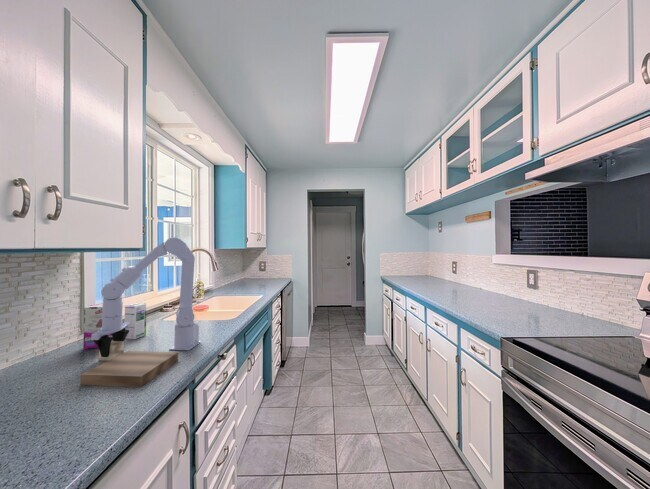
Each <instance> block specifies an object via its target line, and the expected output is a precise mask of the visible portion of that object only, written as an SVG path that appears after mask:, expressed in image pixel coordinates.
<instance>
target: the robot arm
mask: <svg viewBox="0 0 650 489" xmlns="http://www.w3.org/2000/svg"><path fill="white" fill-rule="evenodd" d="M168 253H170V254H171V255H173V256H175V257H176V258H178V259H179V260H180V261H181V273H180V274H181V275H180V292H179V305H178V309H176V312H175V314H176V315H175V316H176V318H175V320H176V323H174V345H173V346H171V347H170V348H168V350H169V351H190V350H191V349H193V348H194V347H196V346H197V345H199V344H200V343H201V342H202V341H201V340H199V339H200V338H199V334H200V333H199V332H200V329H199V328H200V327H199V325H198V323H197V322H195V313H194V310H193V293H194V275H195V262H196V261H195V260H196V259H195V255H194V253H193V252H192V251H191V249H190V248H189V246H188V245H187V243H186V242H184V241H183V240H182V239H181V238H179V237H176V236H175V237H174V236H173V237H169V238H168V239H166V241H164V242H162V243H160V244H159V245H157V246H156V247H154V248H153V249H152V250H150V252H149V253H147V254H146V255H145V256H144V257H143V258H142V259H141V260H140V261H139V262H137V263H136V264H135V265H129V266H127V267H123V268H122V269H121V272H120V273H119V274H117V275H116V276H115V277H112V278H110V282H109V283H106V284H105V285H104V286H103V287H102V288H101V292H100V293H101V296H102V297H103V298H102V305H103V308H102V328H100V330H99V331H97V332H96V333H94V334H92V337H91V340H93V341H94V342H95V343H96V345H97V346H98V348H99V349H98V352H99V351H100V354H101V357H108V356H109V352H110V345H111V342H112V339H113V341H124V342H125V339H127V338H126V336H127V334H128V333H129V330H125V328H130V322H125V321H124V322H123V307H124V306H123V304H124V303H123V294H124V293H125V290H128V289H129V288H130V287H131V286H132V285H134V284H135V283H136V282H137V281H138V280H140V279H141V278H142V277H143V271H144V270H145V269H147V268H148V267H149V266H150V265H151V264H153V262H155V261H156V260H157V259H158V258H159V257H163V256H167V255H168ZM110 334H112V337H109V336H108V335H110Z"/></svg>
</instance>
